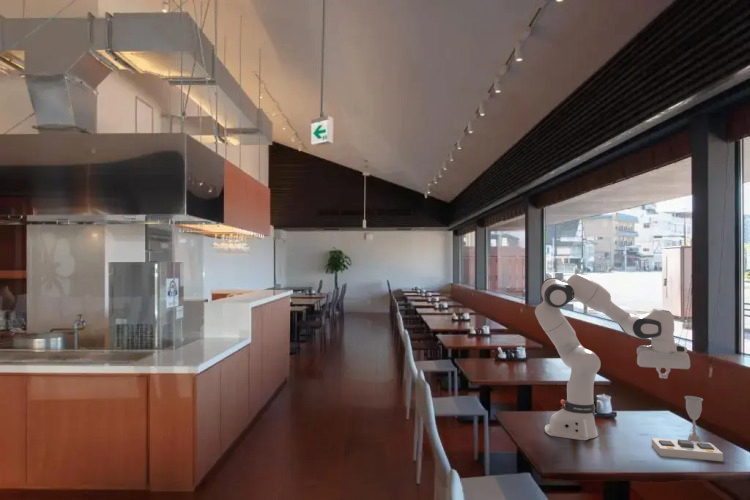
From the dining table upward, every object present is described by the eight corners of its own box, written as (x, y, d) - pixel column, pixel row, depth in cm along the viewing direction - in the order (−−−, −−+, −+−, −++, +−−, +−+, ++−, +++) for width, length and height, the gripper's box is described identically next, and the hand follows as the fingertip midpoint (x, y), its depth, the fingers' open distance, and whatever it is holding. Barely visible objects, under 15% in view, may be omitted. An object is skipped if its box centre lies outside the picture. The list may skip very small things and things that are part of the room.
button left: (662, 450, 202) (662, 443, 202) (659, 446, 206) (658, 440, 206) (674, 451, 201) (674, 444, 201) (670, 447, 205) (670, 441, 205)
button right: (701, 453, 198) (701, 446, 199) (697, 449, 203) (697, 443, 203) (713, 454, 197) (713, 447, 197) (709, 450, 202) (709, 444, 202)
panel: (660, 455, 199) (660, 447, 199) (651, 445, 210) (651, 437, 210) (723, 461, 193) (723, 452, 193) (710, 450, 205) (710, 442, 205)
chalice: (706, 443, 213) (706, 400, 213) (689, 442, 214) (688, 399, 215) (699, 437, 220) (698, 396, 220) (682, 436, 221) (681, 395, 222)
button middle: (681, 449, 200) (681, 443, 200) (677, 445, 205) (677, 439, 205) (693, 450, 199) (693, 444, 199) (689, 446, 203) (689, 440, 203)
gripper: (638, 346, 217) (638, 378, 216) (691, 348, 212) (692, 381, 211) (634, 344, 223) (635, 375, 222) (686, 346, 218) (686, 377, 217)
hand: (663, 378), depth 217 cm, fingers closed
